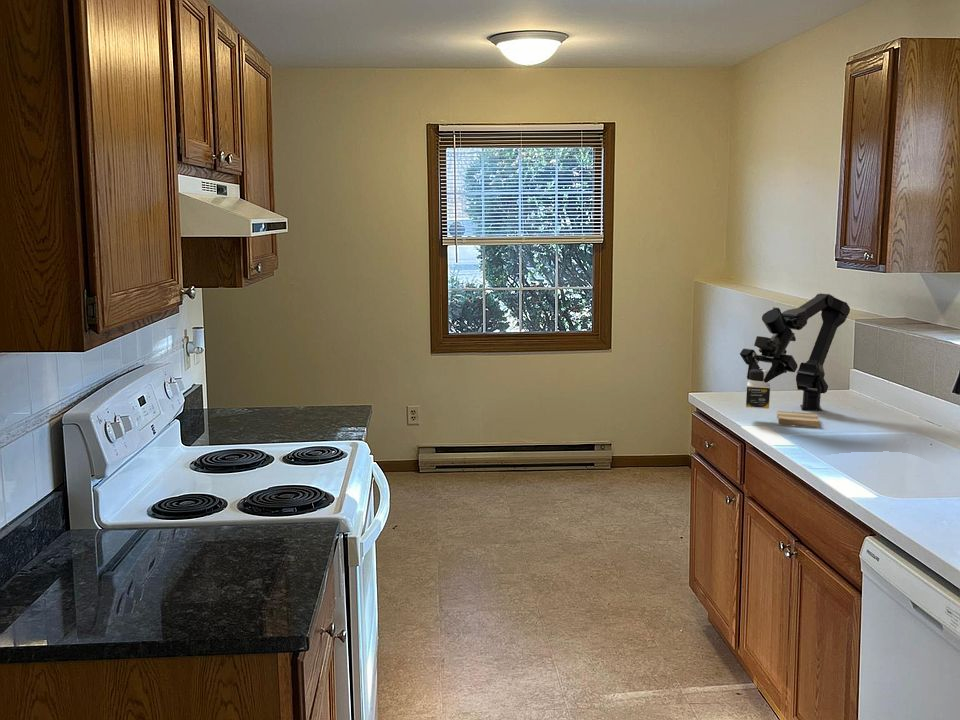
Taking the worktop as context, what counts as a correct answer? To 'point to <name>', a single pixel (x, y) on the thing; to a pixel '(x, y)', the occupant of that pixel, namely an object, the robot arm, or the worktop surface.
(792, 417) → the tan flat square slab
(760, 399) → the medicine bottle
